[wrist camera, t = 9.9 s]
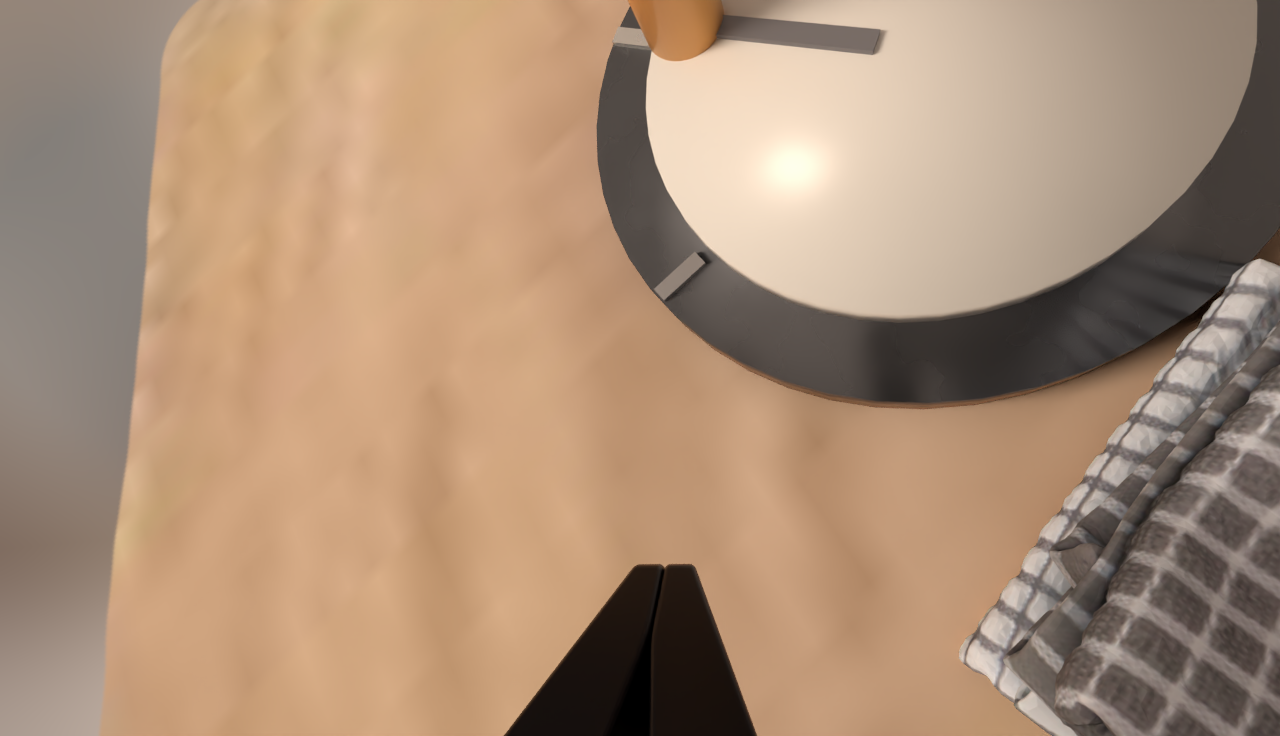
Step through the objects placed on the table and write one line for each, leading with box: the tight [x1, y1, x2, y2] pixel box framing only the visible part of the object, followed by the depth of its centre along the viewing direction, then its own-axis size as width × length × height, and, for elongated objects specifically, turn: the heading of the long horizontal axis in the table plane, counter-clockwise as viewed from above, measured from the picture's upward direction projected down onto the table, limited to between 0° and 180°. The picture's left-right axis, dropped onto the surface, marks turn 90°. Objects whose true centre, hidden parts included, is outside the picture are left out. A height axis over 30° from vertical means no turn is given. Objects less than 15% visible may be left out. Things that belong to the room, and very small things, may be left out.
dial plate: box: [597, 0, 1280, 409], centre depth 22 cm, size 23×23×2 cm
